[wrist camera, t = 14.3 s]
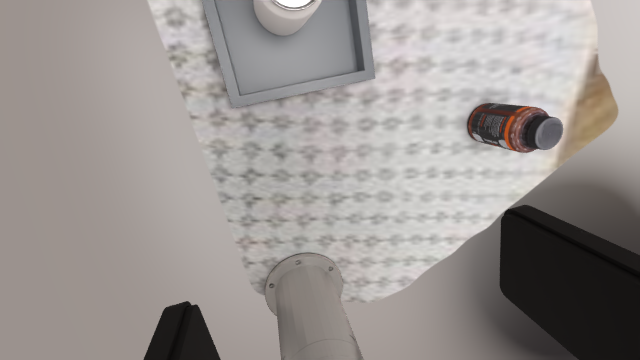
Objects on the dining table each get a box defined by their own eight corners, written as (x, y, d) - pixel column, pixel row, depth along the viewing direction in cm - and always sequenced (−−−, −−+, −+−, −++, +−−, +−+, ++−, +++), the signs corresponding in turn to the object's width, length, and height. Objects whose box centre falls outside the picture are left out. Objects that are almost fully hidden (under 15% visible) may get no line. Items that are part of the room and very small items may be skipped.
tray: (365, 78, 41) (375, 78, 38) (234, 106, 39) (232, 108, 36) (342, -103, 34) (351, -123, 31) (181, -83, 32) (173, -102, 29)
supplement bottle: (469, 146, 48) (529, 165, 37) (463, 110, 46) (525, 119, 35) (502, 133, 48) (571, 147, 38) (498, 97, 46) (570, 101, 36)
